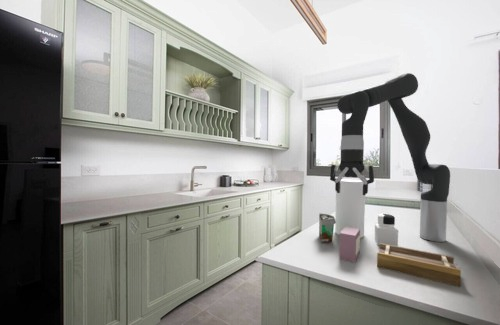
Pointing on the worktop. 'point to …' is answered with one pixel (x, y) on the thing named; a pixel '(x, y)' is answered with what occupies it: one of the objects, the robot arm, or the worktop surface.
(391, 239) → the medicine bottle
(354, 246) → the tea box
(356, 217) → the cylinder
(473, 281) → the worktop surface
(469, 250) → the worktop surface
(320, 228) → the food container
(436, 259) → the wooden serving tray
